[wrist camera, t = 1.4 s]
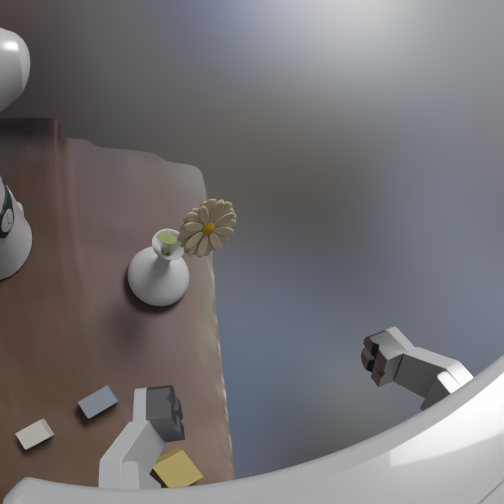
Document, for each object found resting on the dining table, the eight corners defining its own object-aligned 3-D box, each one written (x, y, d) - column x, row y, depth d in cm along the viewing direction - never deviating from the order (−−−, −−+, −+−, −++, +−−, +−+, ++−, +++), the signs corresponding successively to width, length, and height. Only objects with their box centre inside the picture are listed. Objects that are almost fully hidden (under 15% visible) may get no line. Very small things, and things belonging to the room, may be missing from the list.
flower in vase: (126, 307, 47) (131, 239, 27) (128, 248, 52) (140, 154, 32) (198, 309, 52) (253, 248, 32) (194, 253, 57) (241, 169, 37)
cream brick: (30, 446, 28) (25, 449, 26) (20, 431, 28) (15, 433, 26) (54, 434, 31) (50, 436, 29) (44, 418, 32) (39, 420, 29)
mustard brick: (170, 487, 35) (173, 493, 32) (149, 461, 36) (151, 466, 33) (198, 471, 38) (203, 476, 36) (178, 445, 40) (182, 449, 37)
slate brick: (90, 417, 36) (88, 418, 33) (80, 401, 36) (77, 402, 34) (118, 400, 39) (117, 401, 37) (108, 385, 40) (107, 385, 37)
